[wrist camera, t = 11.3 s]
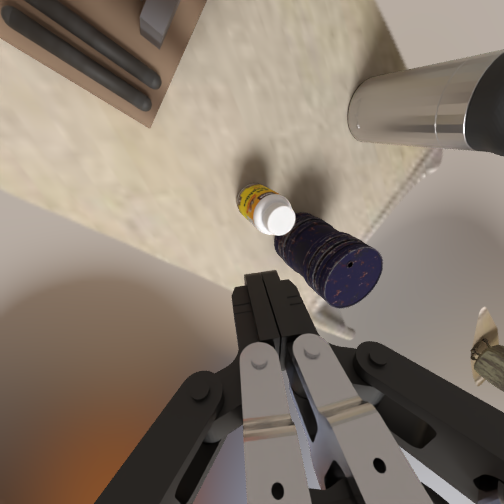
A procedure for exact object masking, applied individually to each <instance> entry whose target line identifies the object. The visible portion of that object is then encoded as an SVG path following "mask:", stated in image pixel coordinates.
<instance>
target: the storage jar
mask: <svg viewBox="0 0 504 504" xmlns="http://www.w3.org/2000/svg"><path fill="white" fill-rule="evenodd" d="M274 246H275V250H276V252H277V254H278V255H279V256H280V257H281V258H282V259H283V260H284V262H285V263H286V264H287V265H288V266H289V267H291V268H292V269H293V270H294V271H296V272H297V273H299V274H301V275H302V276H303V277H304V279H305V281H306V282H307V284H308V285H309V286H310V287H311V288H312V289H313V290H314V291H315V292H316V293H317V294H318V295H320V296H321V297H322V298H323V299H324V300H325V301H326V302H327V303H328V304H329V305H331V306H332V307H335V308H347V307H350V306H353V305H355V304H357V303H358V302H360V301H361V300H362V299H364V298H365V297H366V296H367V295H368V294H369V293H370V292H371V291H372V290H373V288H374V287H375V285H376V284H377V282H378V280H379V278H380V275H381V273H382V269H383V260H382V256H381V254H380V253H379V252H378V251H377V250H376V249H374V248H372V247H370V246H368V245H367V244H365V243H364V242H362V241H361V240H359V239H357V238H355V237H353V236H351V235H350V234H347V233H344V232H339V231H337V230H336V229H334V228H333V227H332V226H331V225H330V224H328V223H326V222H325V221H323V220H322V219H320V218H317V217H314V216H313V215H311V214H308V213H296V214H295V223H294V226H293V227H292V229H291V230H290V231H289V232H288V233H286V234H284V235H280V236H277V235H275V239H274Z"/></svg>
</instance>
